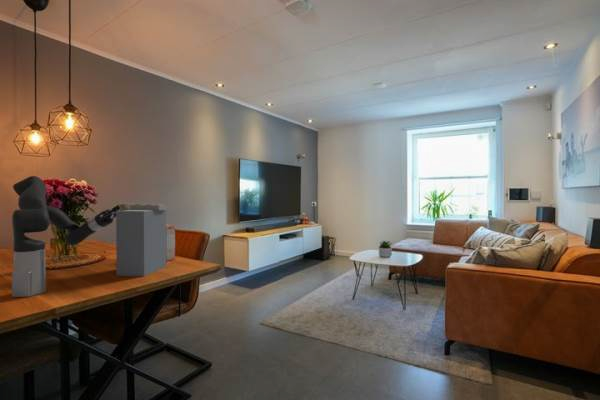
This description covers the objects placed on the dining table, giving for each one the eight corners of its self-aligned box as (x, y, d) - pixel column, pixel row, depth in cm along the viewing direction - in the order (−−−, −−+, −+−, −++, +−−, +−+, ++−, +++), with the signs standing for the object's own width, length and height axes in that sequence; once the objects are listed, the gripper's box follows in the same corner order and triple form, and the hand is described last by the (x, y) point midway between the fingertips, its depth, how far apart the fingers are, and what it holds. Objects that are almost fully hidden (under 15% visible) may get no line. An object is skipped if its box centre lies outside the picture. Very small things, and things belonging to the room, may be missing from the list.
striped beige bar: (162, 209, 159) (162, 204, 159) (157, 210, 155) (157, 204, 155) (122, 209, 161) (122, 203, 161) (117, 209, 157) (117, 203, 157)
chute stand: (169, 266, 163) (168, 205, 162) (147, 276, 143) (147, 206, 142) (141, 265, 164) (141, 204, 164) (116, 275, 145) (116, 206, 144)
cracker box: (175, 259, 180) (175, 224, 179) (166, 261, 175) (166, 225, 174) (161, 256, 187) (161, 223, 187) (152, 258, 182) (152, 224, 182)
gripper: (86, 216, 153) (112, 200, 152) (106, 214, 167) (130, 199, 166) (93, 228, 153) (119, 213, 152) (113, 225, 167) (137, 211, 166)
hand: (125, 206), depth 159 cm, fingers open, 8 cm apart
